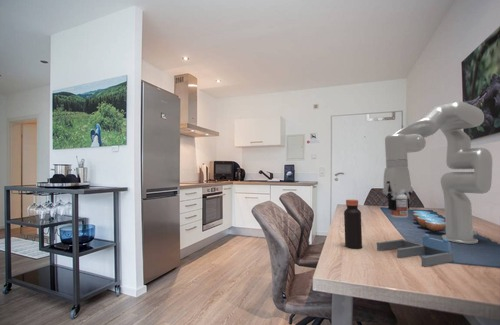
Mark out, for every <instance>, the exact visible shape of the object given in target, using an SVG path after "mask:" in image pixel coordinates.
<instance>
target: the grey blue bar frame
mask: <svg viewBox="0 0 500 325" xmlns="http://www.w3.org/2000/svg"><path fill="white" fill-rule="evenodd" d="M451 245H452V241H449V239H446V238H442V239H437V238H434V237H430V234H428V233H424V234H423V236H422V244H421V243H418V242H414V241H410V240H406V239H394V240H388V241H387V240H386V241H380V242H379V241H378V242H376V251H379V252H380V251H387V250H394V249H396V258H398V259H402V258H403V259H404V258H408V257H409V258H410V257H415V256H421V255H422V256H421V261H420V262H421V263H420V264H421V267H425V268H426V267H427V268H428V267H432V266H437V265H442V264H448V263H452V262H453V263H454V252H452V246H451ZM423 255H424V256H423Z"/></svg>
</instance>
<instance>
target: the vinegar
mask: <svg viewBox="0 0 500 325" xmlns="http://www.w3.org/2000/svg"><path fill="white" fill-rule="evenodd" d="M345 205H346V206H345V207H346V209H345V210H344V211H343V218H344V219H343V223H344V226H343V227H344V244H345V245H344V246H345V247H346V248H348V249H354V250H355V249H356V250H357V249H362V248H363V235H362V232H363V231H362V213H361V210H360V209H358V207H359V200H358V199H346V200H345Z"/></svg>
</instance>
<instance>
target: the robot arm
mask: <svg viewBox="0 0 500 325" xmlns="http://www.w3.org/2000/svg"><path fill="white" fill-rule="evenodd" d="M484 120H485V114H484V112H483V111H482V110H481V108H479V107H478V106H475V105H472V104H470V103H469V102H465V101H459V100H457V101H452V102H447V103H444V104H438V105H436V106H434V107H432V108H431V109H429V110H428V111H426V113H424V115H422V116H421V117H420V118H419V119H417V121H414V122H412V123H411V124H408V125H407V126H404V127H402V128H401V129H399V130H397V131H396V132H395V133H394V134H387V135H386V136H385V137H384V146H385V147H384V148H385V167H386V168H384V172H383V187H382V188H383V189H382V190H381V192H382V194H383V195H384V196H385V197H386V200H387V206H388V210H389V211H390V210H396V200H395V196H396V193H399V192H400V191H401V190H402V189H404V190H405V193H404V194H405V195H406V196H407V201H408V210H409V209H410V199H411V196H412V194H413V192H414V188H413V187H412V182H411V176H410V171H409V166H408V153H409V154H410V153H417V152H420V151H422V150H423V149H424V148H425V147H426V138H427V137H430V136H433V135H434V134H436V133H437V132H438V131H439V130H440V131H441V132H442V133H443V135H444V136H445V138H446V142H447V143H446V144H447V146H446V167H448V168H449V169H451V170H473V171H451V172H446V173H444V174H443V175H441V177H440V185H441V188H442V189H441V190H442V193H443V198H444V199H443V201H444V202H443V203H444V216H445V217H444V220H445V234H442V235H441V238H442V239H443V238H446V239H449V242H451V243H458V244H465V245H466V244H467V245H469V244H471V245H473V244H474V245H475V244H478V243H479V240H478V239H477V238H476V237H474V236H476V235H478V231H477V230H474V229H473V212H472V202H471V200H470V198H469V197H468V196H467V194H487V193H488V192H490V190H491V187H492V178H493V177H492V176H493V175H492V174H493V157H492V153H491V152H490V151H489V149H486V148H484V147H474V148H473V147H471V145H472V144H471V143H472V140H471V137H470V136H469V135H468V134H467V133H466V132H465V131H464V130H465V129H471V128H472V129H473V128H475V127H479V126H481V125H482V124H483V123H484ZM463 129H464V130H463ZM391 191H392V192H391ZM391 194H392V195H391Z"/></svg>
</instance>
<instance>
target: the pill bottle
mask: <svg viewBox="0 0 500 325" xmlns="http://www.w3.org/2000/svg"><path fill="white" fill-rule="evenodd" d="M391 192H392V191H391ZM391 195H392V194H391ZM395 200H396V210H390V209H389V212H390V214H389V215H390V216H391V217H393V218H398V219H399V218H401V219H402V218H403V219H404V218H405V219H406V218H408V217H409V209H408V201H407V196H406V195H405V190H404V189H402V190H401V191H400V192H399V193H396V196H395Z"/></svg>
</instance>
